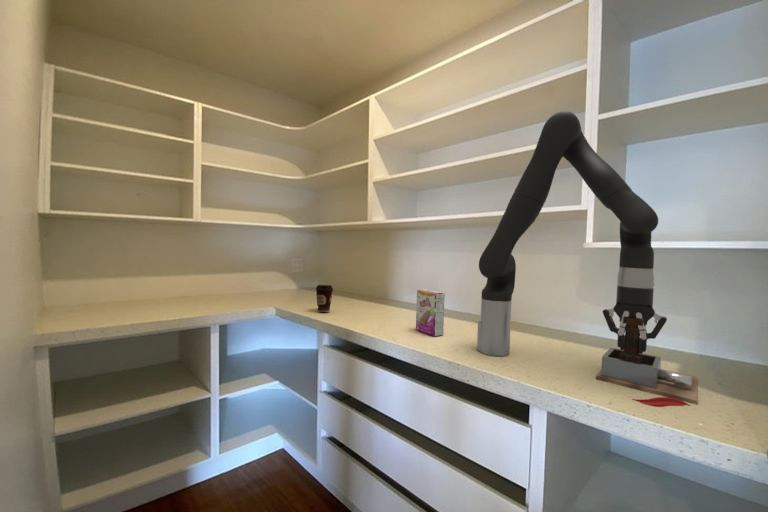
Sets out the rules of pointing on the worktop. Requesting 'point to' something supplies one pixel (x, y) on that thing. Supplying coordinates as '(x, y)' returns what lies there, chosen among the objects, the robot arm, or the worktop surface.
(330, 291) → the coffee cup
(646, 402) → the cayenne pepper
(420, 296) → the candy bar box
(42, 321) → the worktop surface
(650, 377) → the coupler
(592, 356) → the worktop surface
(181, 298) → the worktop surface
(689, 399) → the base
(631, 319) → the bolt
